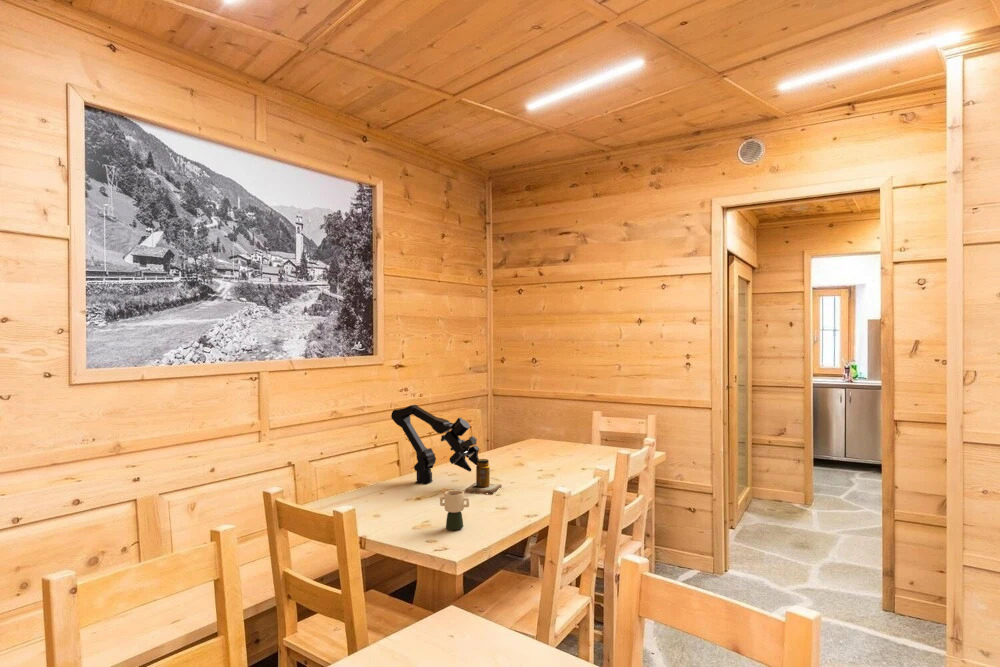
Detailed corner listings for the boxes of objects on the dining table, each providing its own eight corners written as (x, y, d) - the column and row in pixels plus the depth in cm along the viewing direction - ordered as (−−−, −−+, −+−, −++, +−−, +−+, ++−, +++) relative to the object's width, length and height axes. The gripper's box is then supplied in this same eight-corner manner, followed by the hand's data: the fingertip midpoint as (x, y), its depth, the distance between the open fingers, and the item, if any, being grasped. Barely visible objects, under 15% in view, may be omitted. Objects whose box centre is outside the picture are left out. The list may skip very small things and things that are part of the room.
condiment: (492, 485, 261) (492, 458, 261) (485, 489, 253) (485, 462, 254) (478, 484, 264) (478, 457, 264) (470, 488, 256) (470, 461, 256)
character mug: (471, 526, 208) (471, 490, 208) (466, 532, 201) (466, 495, 201) (443, 524, 210) (442, 489, 210) (437, 531, 203) (436, 494, 203)
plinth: (464, 492, 255) (464, 488, 255) (475, 485, 267) (475, 482, 267) (492, 494, 251) (492, 491, 251) (501, 487, 263) (501, 483, 263)
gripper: (455, 434, 255) (477, 461, 250) (475, 428, 272) (496, 454, 267) (440, 450, 259) (461, 477, 254) (461, 443, 275) (481, 469, 270)
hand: (475, 468), depth 261 cm, fingers open, 9 cm apart
